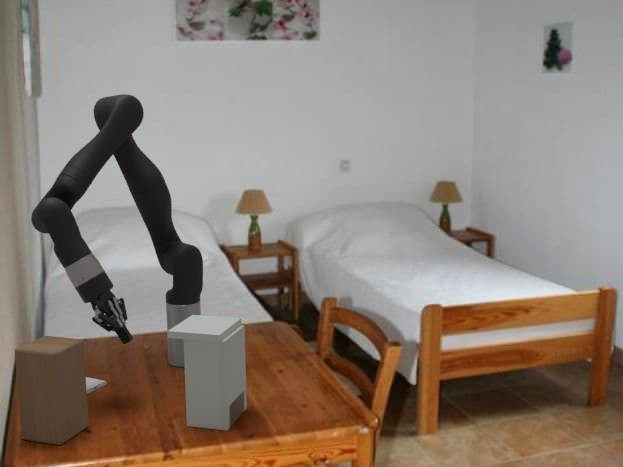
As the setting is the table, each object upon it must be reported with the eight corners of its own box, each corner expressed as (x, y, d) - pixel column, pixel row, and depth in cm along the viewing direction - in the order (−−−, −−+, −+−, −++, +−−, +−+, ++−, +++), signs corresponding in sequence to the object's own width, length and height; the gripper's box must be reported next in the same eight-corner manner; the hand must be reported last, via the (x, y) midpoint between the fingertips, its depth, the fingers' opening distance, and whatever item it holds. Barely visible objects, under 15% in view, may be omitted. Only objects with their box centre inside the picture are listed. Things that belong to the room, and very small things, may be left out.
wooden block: (51, 420, 160) (45, 334, 156) (89, 426, 157) (84, 338, 153) (20, 439, 150) (13, 348, 147) (60, 446, 147) (54, 353, 144)
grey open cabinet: (195, 402, 169) (192, 314, 166) (247, 407, 166) (245, 318, 162) (171, 425, 157) (167, 331, 153) (226, 431, 153) (223, 335, 150)
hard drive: (45, 383, 179) (83, 391, 174) (69, 372, 186) (106, 379, 181) (46, 389, 179) (83, 397, 174) (70, 378, 187) (107, 386, 181)
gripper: (88, 278, 156) (130, 345, 158) (113, 263, 168) (152, 325, 170) (62, 293, 157) (103, 359, 159) (88, 277, 170) (127, 338, 172)
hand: (128, 341), depth 165 cm, fingers closed
